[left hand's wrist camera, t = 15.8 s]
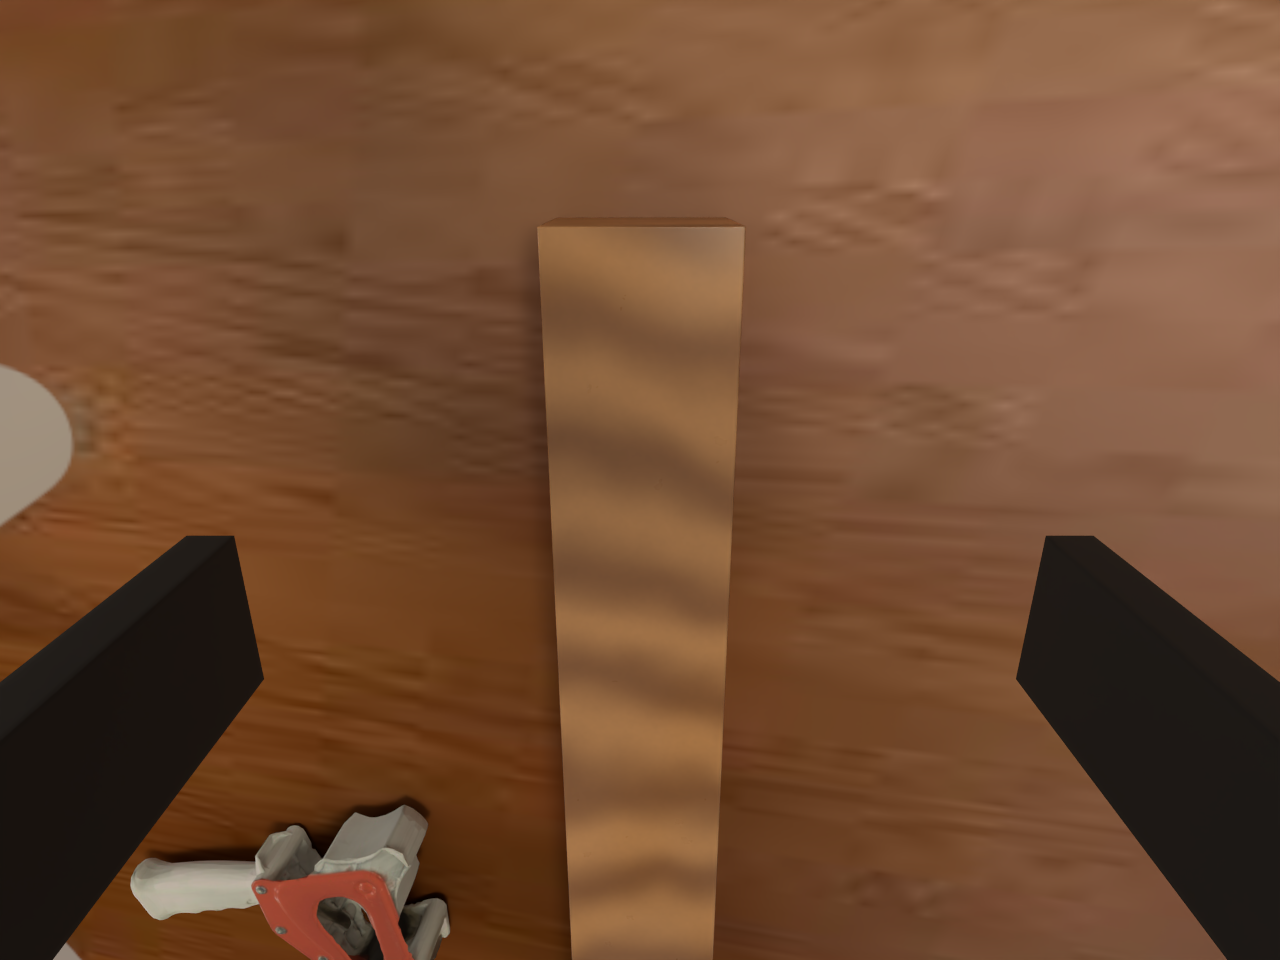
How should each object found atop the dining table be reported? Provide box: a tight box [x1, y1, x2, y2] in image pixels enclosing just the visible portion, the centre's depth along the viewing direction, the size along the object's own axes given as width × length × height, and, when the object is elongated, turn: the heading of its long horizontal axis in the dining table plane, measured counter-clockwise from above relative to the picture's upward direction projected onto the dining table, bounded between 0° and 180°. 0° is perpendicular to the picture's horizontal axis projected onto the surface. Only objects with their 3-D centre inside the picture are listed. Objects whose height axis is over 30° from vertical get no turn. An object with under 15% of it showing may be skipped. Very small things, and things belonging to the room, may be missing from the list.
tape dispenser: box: [131, 805, 450, 960], centre depth 51 cm, size 18×5×20 cm
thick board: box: [537, 218, 746, 960], centre depth 49 cm, size 82×8×8 cm, turn 0°
